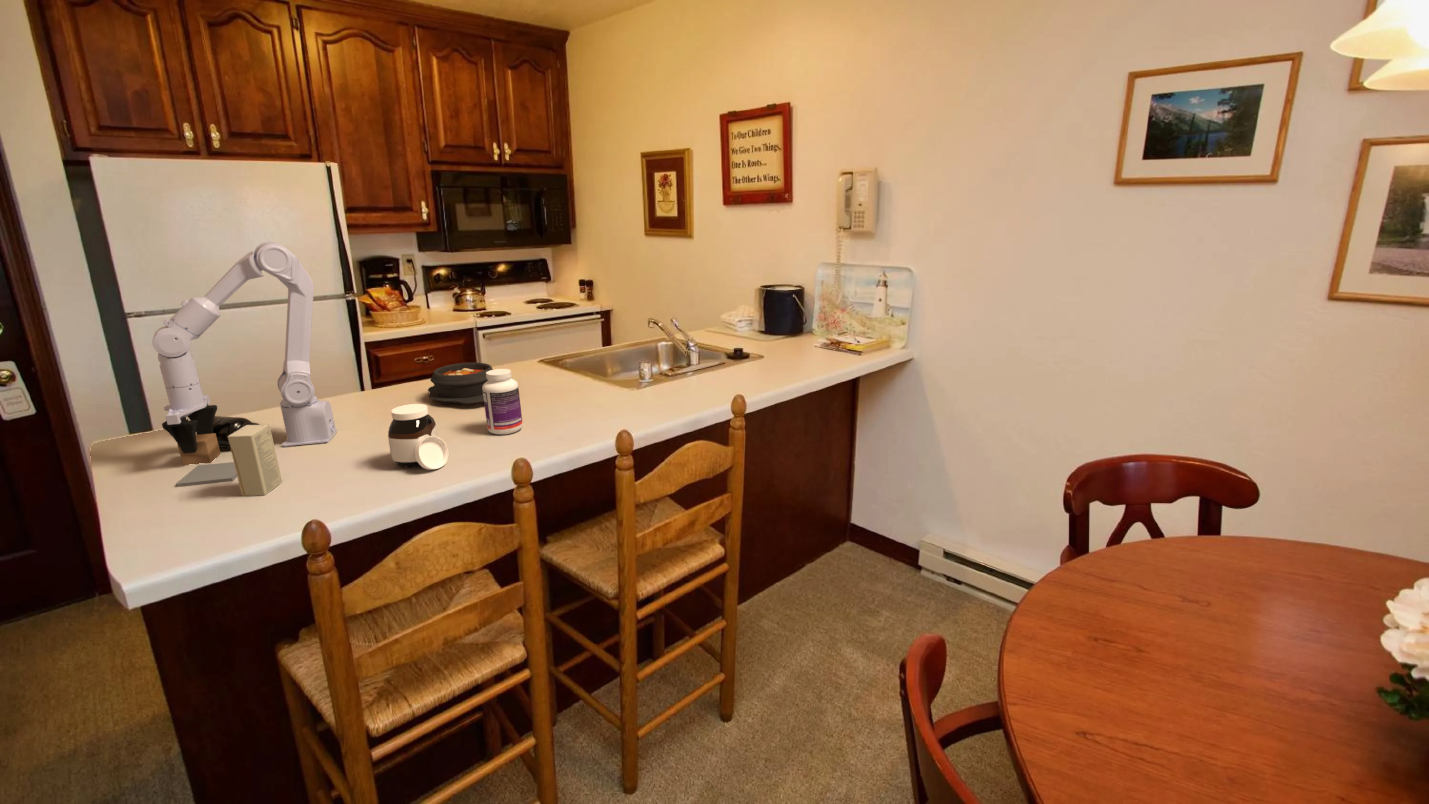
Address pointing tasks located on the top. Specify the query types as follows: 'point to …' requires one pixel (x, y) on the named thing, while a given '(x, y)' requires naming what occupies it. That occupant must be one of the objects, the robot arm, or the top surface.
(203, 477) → the slate mat
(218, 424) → the supplement bottle
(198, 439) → the walnut cube
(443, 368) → the casserole
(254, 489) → the skincare box
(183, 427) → the robot arm
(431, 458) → the spread jar
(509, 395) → the pill bottle
